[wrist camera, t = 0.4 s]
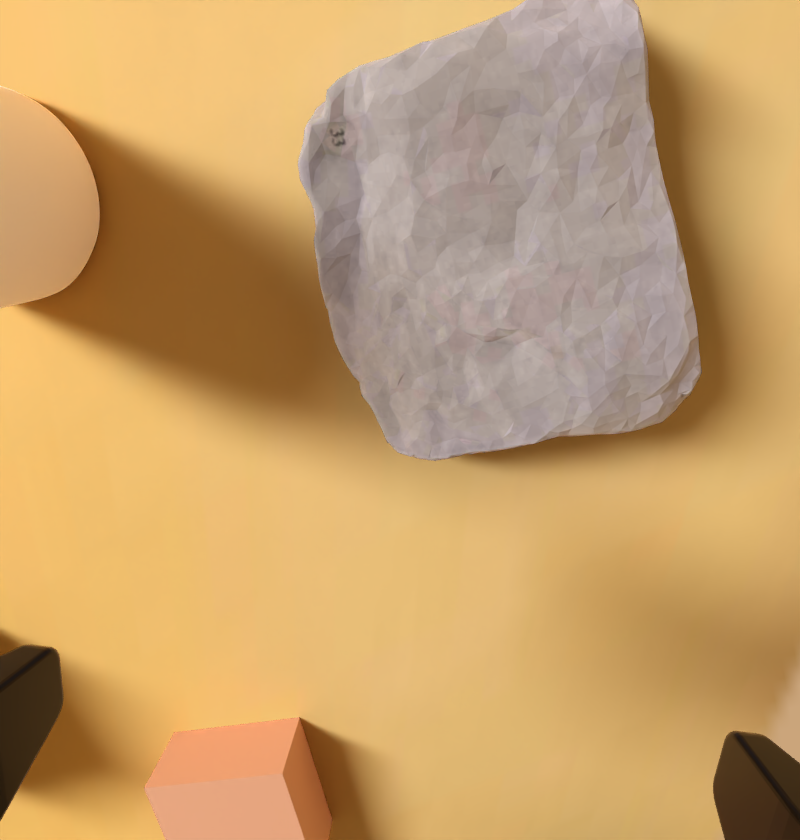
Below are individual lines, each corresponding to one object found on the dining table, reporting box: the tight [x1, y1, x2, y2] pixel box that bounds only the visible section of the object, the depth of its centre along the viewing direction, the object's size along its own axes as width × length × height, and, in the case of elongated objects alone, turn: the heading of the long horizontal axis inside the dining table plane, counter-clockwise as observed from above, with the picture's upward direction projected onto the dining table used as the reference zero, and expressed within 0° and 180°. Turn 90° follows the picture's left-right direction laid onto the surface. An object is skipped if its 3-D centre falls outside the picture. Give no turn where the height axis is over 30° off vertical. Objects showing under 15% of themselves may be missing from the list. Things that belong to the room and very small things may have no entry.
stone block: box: [298, 0, 702, 461], centre depth 19 cm, size 12×5×10 cm
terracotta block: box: [144, 717, 332, 840], centre depth 26 cm, size 6×6×3 cm
